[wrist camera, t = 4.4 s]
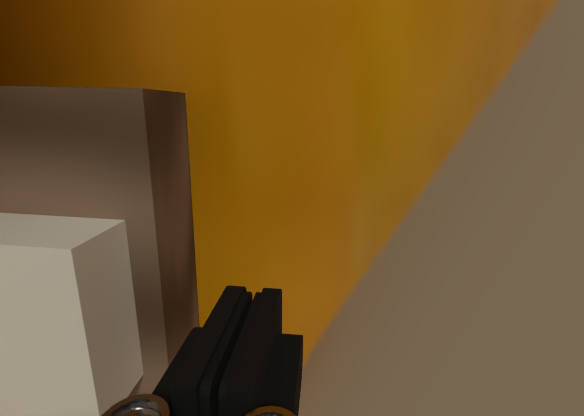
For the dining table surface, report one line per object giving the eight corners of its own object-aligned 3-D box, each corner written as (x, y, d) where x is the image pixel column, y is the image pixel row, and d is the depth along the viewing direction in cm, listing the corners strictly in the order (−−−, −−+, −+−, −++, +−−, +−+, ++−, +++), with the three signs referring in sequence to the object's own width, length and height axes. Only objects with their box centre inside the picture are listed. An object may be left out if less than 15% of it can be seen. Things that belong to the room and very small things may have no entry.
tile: (-44, 210, 12) (-137, 235, 9) (125, 219, 11) (70, 249, 9) (-5, 358, 13) (-75, 411, 11) (143, 373, 13) (102, 432, 10)
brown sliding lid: (-104, 86, 14) (-218, 81, 11) (184, 93, 13) (142, 88, 10) (-22, 373, 18) (-90, 425, 15) (203, 398, 17) (177, 458, 14)
